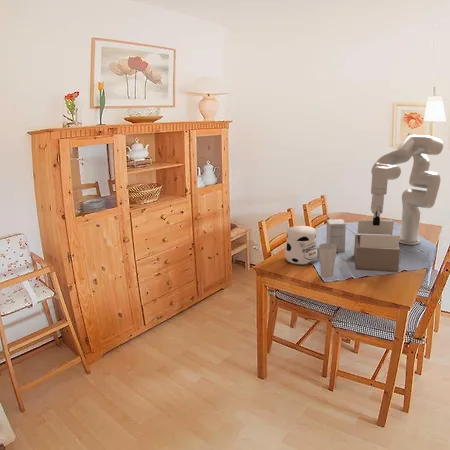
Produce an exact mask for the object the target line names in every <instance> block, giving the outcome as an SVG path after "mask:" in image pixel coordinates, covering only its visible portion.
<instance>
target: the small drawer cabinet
mask: <svg viewBox="0 0 450 450" xmlns="http://www.w3.org/2000/svg"><path fill="white" fill-rule="evenodd" d="M346 225H347V224H346V222H345V220H344V219H343V218H339V219H338V218H336V219H326V243H331V244H334V245H336V246H337V250H336V253H337V252H338V253H339V252H340V253H341V252H346V229H347V228H346Z"/></svg>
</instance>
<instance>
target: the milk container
mask: <svg viewBox="0 0 450 450" xmlns="http://www.w3.org/2000/svg"><path fill="white" fill-rule="evenodd" d="M318 252H319V251H318V248H317V231H316V229H315V227H312V226H308V225H296V226H295V225H294V226H291V227H288V228H287V229H286V247H285V249H284V257H285V259H286V261H287V262H288V263H289V264H293V265H296V266H306V265H312V264H313V263H315V262H316V261H317V259H318V254H319V253H318Z"/></svg>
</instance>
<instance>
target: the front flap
mask: <svg viewBox="0 0 450 450" xmlns="http://www.w3.org/2000/svg"><path fill="white" fill-rule="evenodd" d="M360 235H361V237H360V247H368V248H391V249H398V246H399V243H400V242H399V240H400V235H394V234H392V235H385V234H360Z"/></svg>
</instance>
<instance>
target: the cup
mask: <svg viewBox="0 0 450 450" xmlns="http://www.w3.org/2000/svg"><path fill="white" fill-rule="evenodd" d="M318 250H319V251H318V252H319V253H318V254H319V269H320V276H321V277H323V278H329V279H330V278H333V276H334V272H335V263H336V256H337V252H336V250H337V246H336V245H334V244H331V243H327V242H324V243H320V244H319V245H318Z"/></svg>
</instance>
